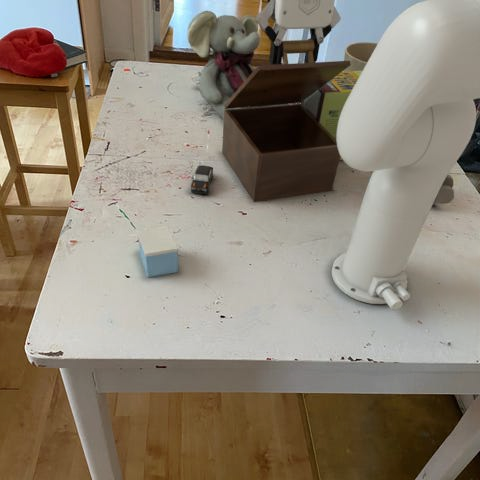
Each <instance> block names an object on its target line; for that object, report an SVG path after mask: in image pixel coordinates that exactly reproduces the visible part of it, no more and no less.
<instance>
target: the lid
mask: <svg viewBox="0 0 480 480" xmlns="http://www.w3.org/2000/svg"><path fill="white" fill-rule="evenodd" d="M281 45H282V46H283V55H282V63H281V64H277V65H271V64H262V65H259V64H258V65H257V66H256V67H255V68H254V69H255V70H254V71H253V72H252V74H251V75H250V76H249V77H248V78H247V79H246V80H245V82H244V83H243V84H242V85H241V86H240V87H239V89H238V90H237V91H236V92H235V93H234V94H233V96H232V97H231V98H230V99H229V100H228V101H227V102H226V104H225V105H224V107H225V109H231V108H249V107H258V106H268V105H281V104H298V103H300V104H301V102H303V101H304V100H305V99H307V98H308V97H309V96H311V95H312V94H313V93H315V92H316V91H317V90H319V89H320V88H321V87H322V86H324V85H325V84H326V83H328V82H329V81H330V80H332V79H333V78H334V77H336V76H337V75H338V74H340V73H341V72H343V71H344V70H345V69H346V68H348V67H349V66H350V65H351V64H350V61H344V60H337V61H336V60H335V61H334V60H333V61H316V62H315V63H314V58H313V51H314V41H313V40H308V39H296V40H295V39H294V40H290V39H289V40H282V42H281ZM305 53H308V60H309V63H304V62H298V63H297V62H295V63H289V56H288V55H293V54H305Z"/></svg>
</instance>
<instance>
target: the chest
mask: <svg viewBox="0 0 480 480" xmlns="http://www.w3.org/2000/svg"><path fill="white" fill-rule="evenodd" d="M222 127H223V129H222V146H221V147H222V148H221V154H222V155H223V157H224V158H225V160H226V162H227V163H228V165H229V166H230V168H231V169H232V171H233V172H234V174H235V175H236V177H237V178H238V180H239V181H240V183H241V185H242V186H243V187H244V189H245V191H246V192H247V194H248V196H249V197H250V199H251V200H252V202H253V203H254V202H255V203H256V202H263V201H268V200H274V199H275V200H276V199H282V198H289V197H297V196H303V195H311V194H318V193H325V192H332V190H333V187H334V183H335V179H336V176H337V171H338V167H339V165H340V164H339V163H340V161H339V160H340V154H339V151H338V147H337V140H336V139H335V138H334V137H333V136H332V135H331V134H330V133H329V132H328V131H327V130H326V129H325V128H324V127H323V126H322V125H321V124H320V123H319V122H318V121H317V120H316V119H315V118H314V117H313V116H312V115H311V114H310V113H309V112H308V111H307V110H306V109H305V108H304V107H303V106H302V105H301V103H294V104H286V105H274V106H261V107H258V106H256V107H243V108H236V109H224V119H223V126H222Z"/></svg>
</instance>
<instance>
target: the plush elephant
mask: <svg viewBox="0 0 480 480" xmlns="http://www.w3.org/2000/svg"><path fill="white" fill-rule="evenodd" d="M258 31H259V24H258V23H257V21H256V16H255V15H254V14H246V15H244V16H242V17H241V18H240V19H239V18H238V17H237V16H235V15H229V14H228V15H227V14H223V15H219V16H218V17H217V15H216V13H214V12H213V11H210V10H203V11H200V12H199V13H197V14H196V15H195V16H194V17H193V18H192V19H191V21H190V22H189V24H188V27H187V34H186V39H187V41H188V44H189V46H190V48H191V49H192V50H193V52H195V53H196V54H197V55H198V56H199V57H200V58H205V59H206V58H208V57H210V58H209V59H208V61H207V63H206V64H205V65H204V66H203V68H202V69H201V71H197V74H198V78H197V79H195V82H198V83H196V84H195V85H196V89H197V90H199V92H200V95H201V97H202V98H203V99H204V100H205V101H206V103H207V104H208V105H209V106H210V107H211V109H212V110H213V111H214V112H215V114H217V115H218V116H219V117H220V118H221V119H222V120H224V109H225V107H224V105H225V104H226V102H227V101H228V100H229V99H230V98H231V97H232V96H233V94H234V93H235V92H236V91H237V90H238V89H239V87H240V86H241V85H242V84H243V83H244V82H245V80H246V79H247V78H248V77H249V76H250V75H251V74H252V72H253V71H254V70H255V69H256V68H254V67H253V66H252V65H251V64H252V59H253V58H254V56H255V52H254V51H256V50H257V49H258V47H259V45H260V43H261V38H260V34H259V32H258ZM211 50H212V51H213V53H212V57H211V56H210V55H211ZM281 105H286V104H281ZM268 106H274V105H268ZM257 107H261V106H257ZM231 109H236V108H231Z"/></svg>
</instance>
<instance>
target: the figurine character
mask: <svg viewBox="0 0 480 480" xmlns="http://www.w3.org/2000/svg"><path fill="white" fill-rule="evenodd" d="M454 184H455V183H454V178H453V177H452V175H450V174H448V175H447V177H446V178H445V180H444V182H443V184H442V186H441V188H440V190H439V192H438V194H437V196H436V198H435V200H434V201H436V202H437V203H438V204H442V205H443V204H444V205H445V204H449V203H451V202H452V201H453V200H454V198H455V191H454V188H453V187H454ZM437 207H438V206H436V204H434V203H433V205H432V207H431V208H437Z"/></svg>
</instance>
